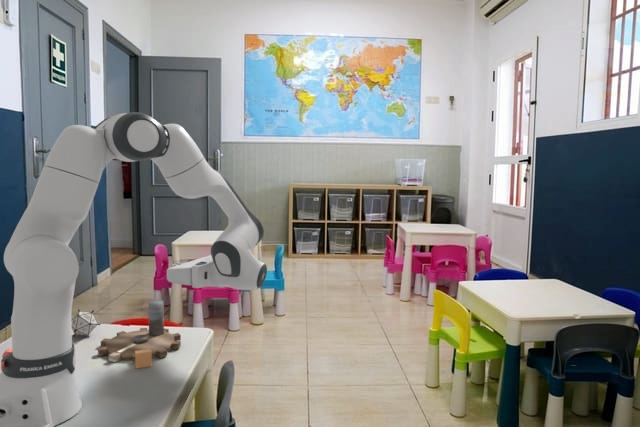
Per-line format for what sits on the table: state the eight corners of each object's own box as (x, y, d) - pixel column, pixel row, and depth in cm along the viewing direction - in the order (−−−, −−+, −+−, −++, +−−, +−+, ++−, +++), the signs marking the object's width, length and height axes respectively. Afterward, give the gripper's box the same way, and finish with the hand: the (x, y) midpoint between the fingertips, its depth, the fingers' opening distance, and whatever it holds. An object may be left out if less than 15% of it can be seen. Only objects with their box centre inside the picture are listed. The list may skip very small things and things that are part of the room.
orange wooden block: (135, 368, 124) (135, 353, 124) (135, 365, 126) (135, 351, 126) (151, 366, 126) (151, 351, 125) (151, 363, 128) (150, 349, 127)
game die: (90, 345, 148) (111, 318, 150) (75, 345, 140) (96, 317, 142) (71, 328, 150) (91, 302, 152) (54, 328, 142) (76, 300, 144)
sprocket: (145, 368, 124) (145, 326, 123) (79, 354, 131) (78, 314, 130) (195, 338, 145) (195, 302, 144) (137, 328, 153) (136, 294, 151)
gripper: (232, 253, 144) (193, 250, 149) (193, 267, 125) (150, 262, 129) (231, 273, 145) (193, 269, 149) (193, 290, 126) (151, 284, 130)
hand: (173, 266), depth 139 cm, fingers closed
